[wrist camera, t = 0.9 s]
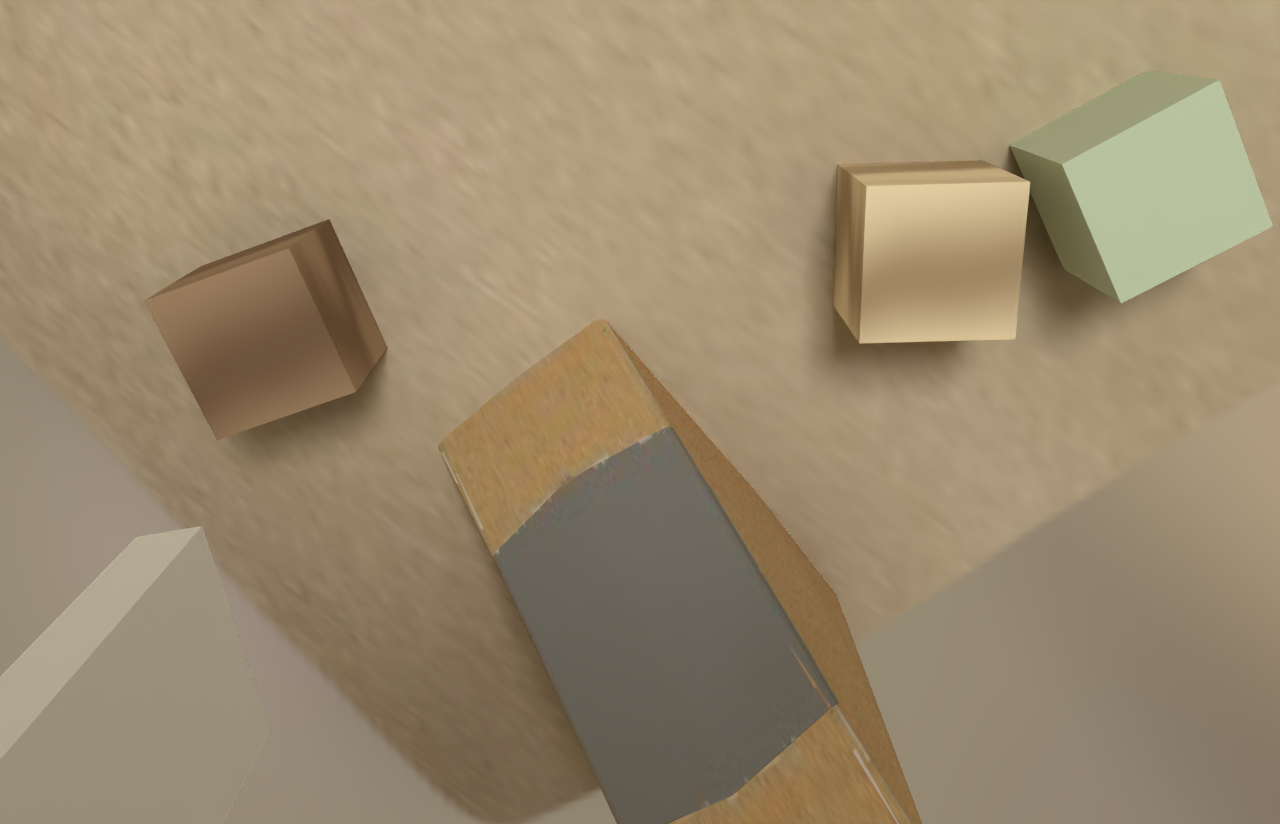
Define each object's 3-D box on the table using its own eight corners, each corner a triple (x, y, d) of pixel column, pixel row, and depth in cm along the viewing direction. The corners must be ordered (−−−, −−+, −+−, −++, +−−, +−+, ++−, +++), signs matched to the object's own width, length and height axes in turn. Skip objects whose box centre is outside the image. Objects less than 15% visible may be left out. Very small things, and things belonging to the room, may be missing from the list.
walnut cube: (202, 265, 39) (144, 300, 35) (329, 218, 39) (288, 248, 34) (264, 390, 41) (217, 440, 36) (387, 347, 40) (356, 391, 36)
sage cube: (1008, 144, 38) (1062, 164, 33) (1144, 70, 37) (1219, 79, 33) (1062, 268, 40) (1121, 303, 35) (1194, 199, 39) (1272, 225, 34)
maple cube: (837, 164, 38) (866, 186, 34) (981, 159, 38) (1030, 181, 34) (832, 303, 40) (859, 343, 35) (969, 299, 40) (1015, 339, 35)
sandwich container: (604, 305, 40) (591, 468, 26) (845, 594, 44) (946, 869, 30) (428, 443, 42) (327, 665, 28) (676, 708, 46) (698, 1017, 32)
